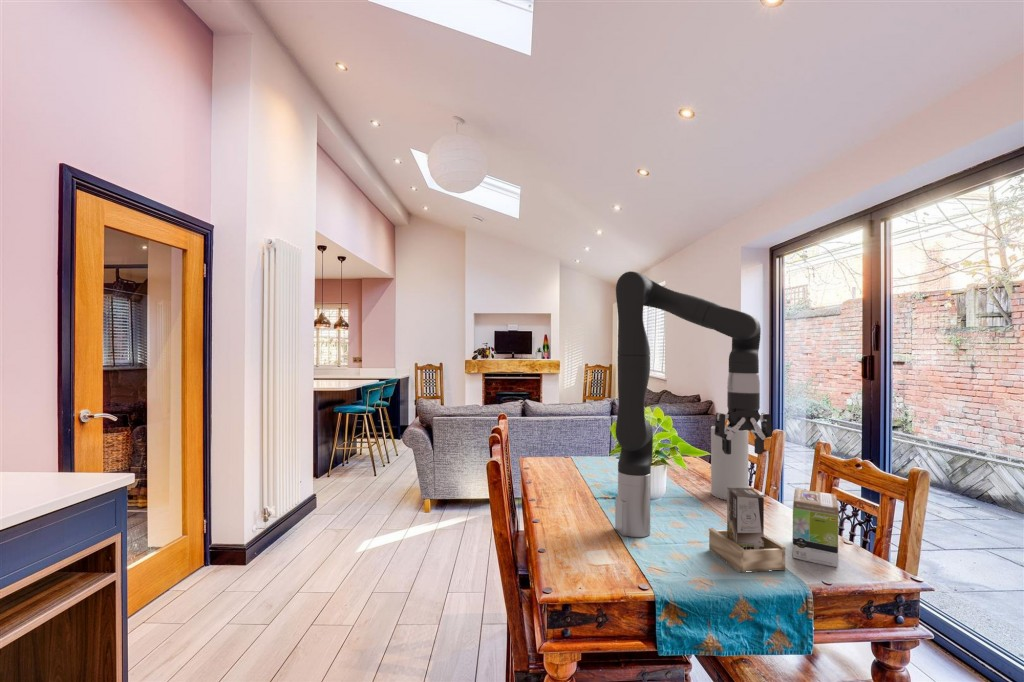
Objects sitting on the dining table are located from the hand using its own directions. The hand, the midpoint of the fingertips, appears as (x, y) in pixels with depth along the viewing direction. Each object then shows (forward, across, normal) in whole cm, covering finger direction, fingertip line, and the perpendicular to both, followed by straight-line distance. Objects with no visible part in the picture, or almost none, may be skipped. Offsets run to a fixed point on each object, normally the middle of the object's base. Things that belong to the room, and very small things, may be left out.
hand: (743, 453), depth 123 cm
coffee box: (+26, 0, -1) cm, 26 cm away
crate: (+26, 0, -1) cm, 26 cm away
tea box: (+26, +21, +1) cm, 34 cm away
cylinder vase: (+26, +28, +51) cm, 64 cm away
